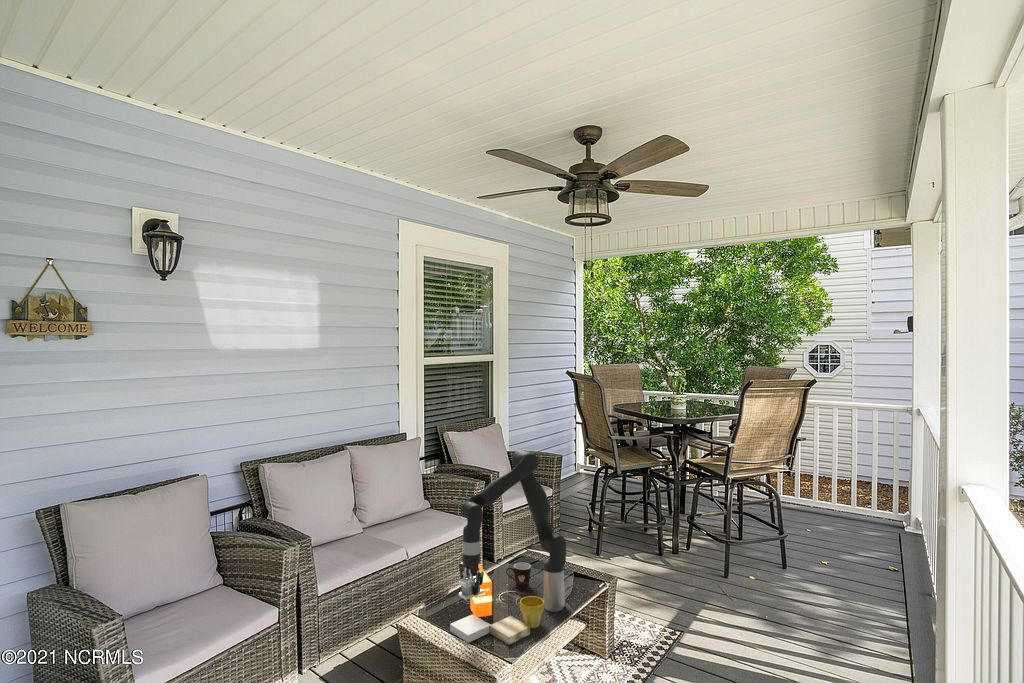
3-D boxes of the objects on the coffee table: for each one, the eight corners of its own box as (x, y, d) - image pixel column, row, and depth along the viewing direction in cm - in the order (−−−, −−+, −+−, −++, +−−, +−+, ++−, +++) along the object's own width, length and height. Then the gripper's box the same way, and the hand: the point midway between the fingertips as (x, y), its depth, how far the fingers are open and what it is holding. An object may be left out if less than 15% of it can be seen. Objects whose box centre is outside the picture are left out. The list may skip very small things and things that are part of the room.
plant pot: (529, 615, 236) (529, 593, 236) (548, 623, 229) (548, 600, 229) (514, 625, 228) (514, 601, 228) (534, 633, 221) (534, 609, 221)
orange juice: (486, 605, 244) (486, 561, 245) (492, 615, 236) (492, 569, 236) (469, 608, 242) (470, 563, 242) (474, 617, 233) (475, 571, 234)
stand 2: (510, 622, 229) (510, 615, 229) (530, 633, 221) (530, 626, 221) (489, 633, 221) (489, 625, 221) (508, 644, 212) (509, 637, 212)
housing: (475, 589, 227) (475, 575, 227) (483, 593, 223) (483, 578, 224) (458, 595, 221) (458, 581, 221) (466, 600, 217) (466, 585, 217)
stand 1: (472, 621, 231) (472, 614, 231) (490, 632, 222) (490, 624, 222) (450, 631, 222) (450, 623, 222) (468, 642, 214) (468, 635, 214)
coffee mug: (534, 585, 266) (534, 565, 266) (525, 591, 259) (525, 571, 259) (514, 579, 272) (514, 559, 272) (505, 586, 265) (505, 565, 265)
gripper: (489, 553, 220) (489, 595, 220) (467, 544, 230) (467, 583, 230) (475, 558, 215) (475, 601, 214) (453, 548, 225) (453, 589, 225)
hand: (471, 592), depth 222 cm, fingers closed on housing, 5 cm apart
